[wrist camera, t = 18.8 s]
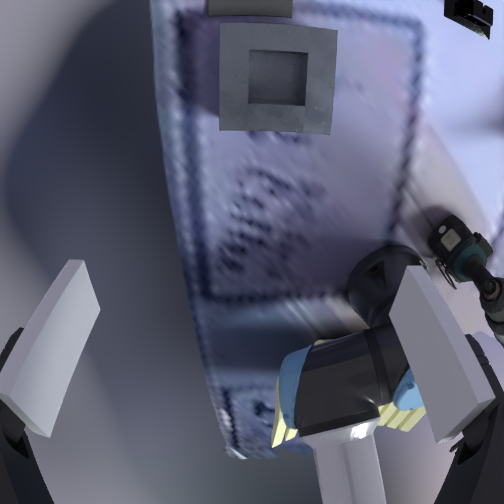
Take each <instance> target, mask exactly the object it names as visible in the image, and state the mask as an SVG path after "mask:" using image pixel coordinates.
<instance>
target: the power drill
mask: <svg viewBox="0 0 504 504" xmlns="http://www.w3.org/2000/svg"><path fill="white" fill-rule="evenodd" d="M428 244H429V246H430V247H431V249H432V250H433V251H434V253H435V254H436V255H437V256H438V258H439V259H437V260H436V261H435V262H436V265H437V266H438V268H439V269H440V271H441V273H442V274H443V276H444V277H445V279H446V280H447V281H448V283H449V284H450V285H451V286H452V287H453V288H454V289H455V290H456V289H457V288H456V287H455V285H454V283H453V281H452V279H451V278H450V276H449V274H450V275H452V277H453V278H454V279H455V281H456V282H459V283H461V282H466V281H473V282H474V284H475V285H476V287H477V289H478V290H479V292H480V298H479V299H480V303H481V306H482V308H483V309H484V311H485V318H486V320H487V322H488V325H489V327H490V328H491V330H492V331H493V332H494V335H495V337H496V338H497V340H498V341H499V342H500V343H501V345H502V346H503V348H504V279H503V278H500V277H493V276H492V275H491V274H490V272H489V271H488V270H487V269H486V268H485V267H486V262H487V258H488V257H489V256H490V255H491V254H492V253H493V250H492V247H491V246H490V245H489V243H488V242H487V240H486V239H484V237H483V236H482V235H481V234H480V233H479V234H478V233H477V232H475V233H474V234H472V233H471V231H470V230H469V229H468V227H467V226H466V225H465V224H464V223H463V222H462V221H461V220H460V219H459V218H458V217H456V216H455V215H451V216H450V217H449V218H447V219H446V221H445V222H444V223H442V225H441V226H440V227H439V228H438V229H437V230H436V231H435V232H434V233H433V234H432V236H431V237H430V238H429V242H428ZM440 260H441V261H442V262H443V263H444V264H445V265H446V267H445V266H444V264H443V263H442V262H441V261H440ZM439 262H441V263H442V265H443V266H444V268H445V273H446V275H447V276H448V278H449V280H450V281H451V283H452V284H453V285H452V284H451V283H450V282H449V280H448V279H447V278H446V276H445V275H444V273H443V271H442V270H441V268H440V267H439ZM448 273H449V274H448Z"/></svg>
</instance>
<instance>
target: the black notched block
mask: <svg viewBox="0 0 504 504" xmlns="http://www.w3.org/2000/svg"><path fill="white" fill-rule="evenodd" d="M444 16H445V17H447V18H449V19H451V20H453V21H455V22H457V23H459V24H461V25H463V26H465V27H466V28H468V29H470V30H472V31H474V32H476V33H477V34H479V35H481V36H483V37H484V38H486V39H488V40H489V39H490V27H491V26H493V9H492V8H490V7H488V6H487V5H484V6H483V3H482V2H480V1H478V0H445V2H444Z"/></svg>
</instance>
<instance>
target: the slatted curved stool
mask: <svg viewBox="0 0 504 504" xmlns="http://www.w3.org/2000/svg"><path fill="white" fill-rule="evenodd" d="M331 340H334V339H329V340H317V341H316V342H315V344H314V345H317V344H321V343H324V342H328V341H331ZM378 409H379V413H380V417H381V419H380V421H379V423H378V424H377V425H380V426H383V425H384V424H385V423H386V424H387V427H391V428H396V427H397V426H399V429H400V430H402V431H406V432H408V431H409V430H410V429H411V428H412V427H413V426H414V425H415V424H416V423H417V422H418V421H419V420H420V419H421V418H422V417H423V415H424V414H425V413H426V410H425V407H424V406H422V407H420V408H417V409H414V410H407V411H401V410H399V409H397V408H396V407H395V406H394V404H393V402H392V403H389V404H386V405H383V406H380V407H379V408H378ZM297 430H298V429H297ZM297 430H294V429H290V428H288V427H286V425H285V423H284V420H283V413H282V412H281V408H280V401H279V376H278V379H277V385H276V410H275V420H274V426H273V431H272V448H273V447H275V446H277V445H279V444H281V442H282V439H283V436H284V433H285V438H286V441H287V440H289V439H291V438H293V437H295V435H296V432H297Z"/></svg>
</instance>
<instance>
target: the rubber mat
mask: <svg viewBox="0 0 504 504" xmlns="http://www.w3.org/2000/svg"><path fill="white" fill-rule="evenodd" d="M208 16H273V17H289V18H292V0H209V9H208Z"/></svg>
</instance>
